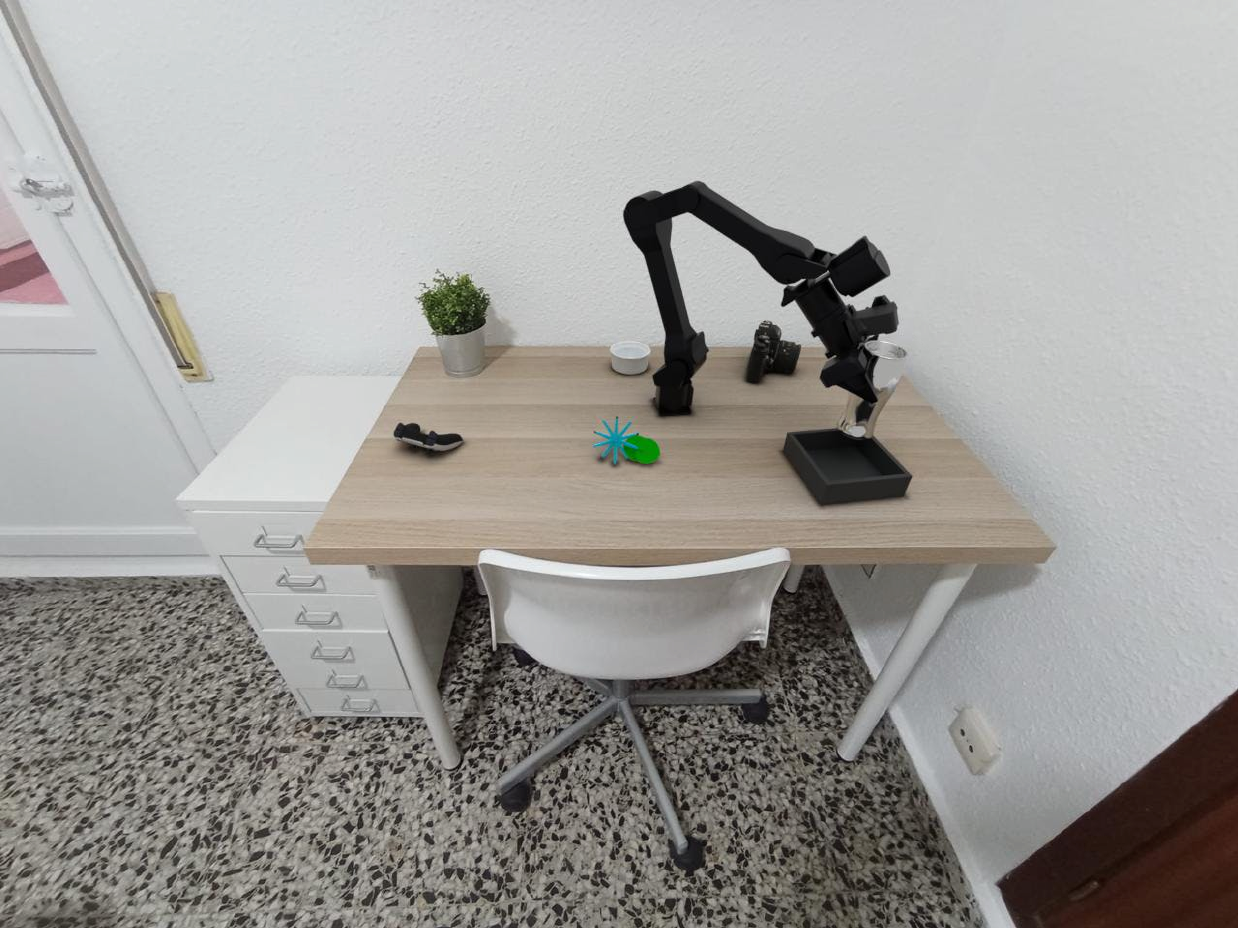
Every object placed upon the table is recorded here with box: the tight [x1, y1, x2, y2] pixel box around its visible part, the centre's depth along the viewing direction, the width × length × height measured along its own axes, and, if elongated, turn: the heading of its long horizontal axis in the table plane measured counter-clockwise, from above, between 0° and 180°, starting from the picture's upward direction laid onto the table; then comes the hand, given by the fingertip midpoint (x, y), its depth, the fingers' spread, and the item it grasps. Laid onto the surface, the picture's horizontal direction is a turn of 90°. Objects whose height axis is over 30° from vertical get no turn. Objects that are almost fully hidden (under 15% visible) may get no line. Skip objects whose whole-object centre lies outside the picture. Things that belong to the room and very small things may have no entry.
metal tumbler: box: [836, 340, 910, 440], centre depth 89 cm, size 7×7×15 cm
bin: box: [782, 427, 914, 506], centre depth 92 cm, size 15×15×4 cm
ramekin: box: [609, 340, 651, 376], centre depth 121 cm, size 9×9×4 cm
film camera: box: [745, 319, 802, 384], centre depth 120 cm, size 18×12×10 cm
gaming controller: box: [392, 422, 464, 454], centre depth 95 cm, size 11×4×7 cm
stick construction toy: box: [592, 415, 661, 465], centre depth 96 cm, size 12×7×8 cm
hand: (878, 392), depth 89 cm, fingers closed on metal tumbler, 7 cm apart
